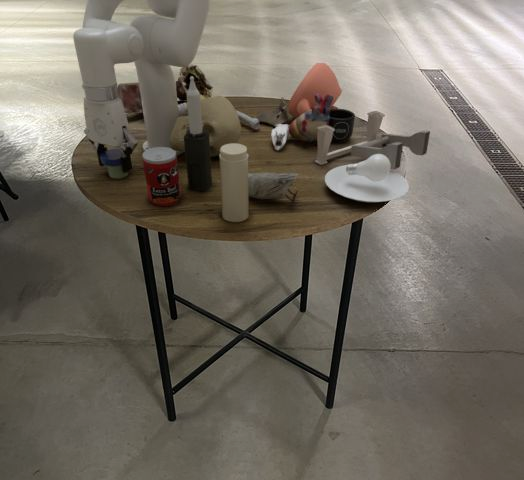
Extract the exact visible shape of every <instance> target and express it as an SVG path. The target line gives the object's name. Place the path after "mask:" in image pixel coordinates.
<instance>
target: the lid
mask: <svg viewBox="0 0 524 480" xmlns="http://www.w3.org/2000/svg"><path fill="white" fill-rule="evenodd" d="M124 151H125V149H124ZM120 157H122V156H121V154H120V152H119V150H118V148H110V149H107V150H106V151H103V152H102V153H101V154H100V160H101V163H102V164H103V165H104V166H106V167H107V166H120V165H121V161H120Z"/></svg>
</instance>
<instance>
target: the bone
mask: <svg viewBox="0 0 524 480" xmlns="http://www.w3.org/2000/svg"><path fill="white" fill-rule="evenodd" d="M235 110H236V109H235ZM236 112H237V114H238V117H239V120H240V121H242V122H243V123H245V124H247V125H249V127H250V128H251V129H253V130H254V131H258V130H259V129H260V128H261V124H260V121H259V120H258V119H256V118H254V117H253V118H252V117H251V116H249V115H247V114H245V113H243V112H241V111H238V110H236Z"/></svg>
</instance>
